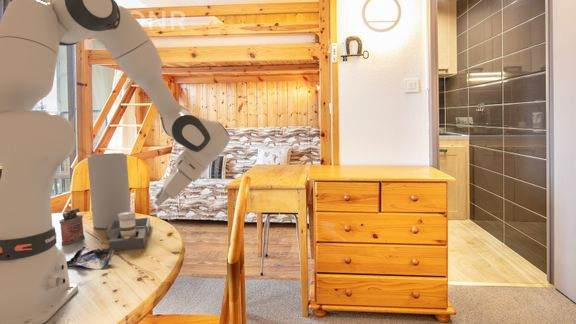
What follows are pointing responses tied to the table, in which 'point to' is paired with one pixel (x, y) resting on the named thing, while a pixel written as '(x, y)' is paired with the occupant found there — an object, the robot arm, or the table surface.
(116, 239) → the block
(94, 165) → the cylinder vase
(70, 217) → the lighter
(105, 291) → the table surface
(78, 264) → the snack package
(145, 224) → the tray
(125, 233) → the ball
